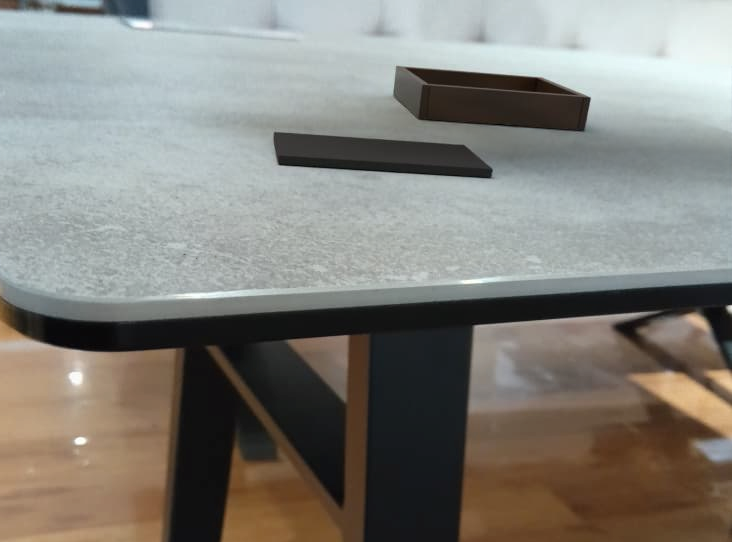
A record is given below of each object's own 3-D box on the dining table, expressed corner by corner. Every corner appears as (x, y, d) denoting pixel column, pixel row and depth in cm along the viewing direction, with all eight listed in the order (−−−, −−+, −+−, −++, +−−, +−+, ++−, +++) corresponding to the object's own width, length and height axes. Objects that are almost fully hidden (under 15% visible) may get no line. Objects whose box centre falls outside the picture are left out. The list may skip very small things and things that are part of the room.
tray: (537, 106, 79) (542, 77, 78) (584, 130, 68) (591, 97, 67) (392, 95, 78) (396, 65, 77) (418, 119, 67) (422, 84, 66)
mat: (463, 152, 56) (464, 144, 56) (491, 177, 50) (493, 168, 49) (273, 140, 54) (273, 131, 54) (277, 164, 48) (278, 155, 48)
